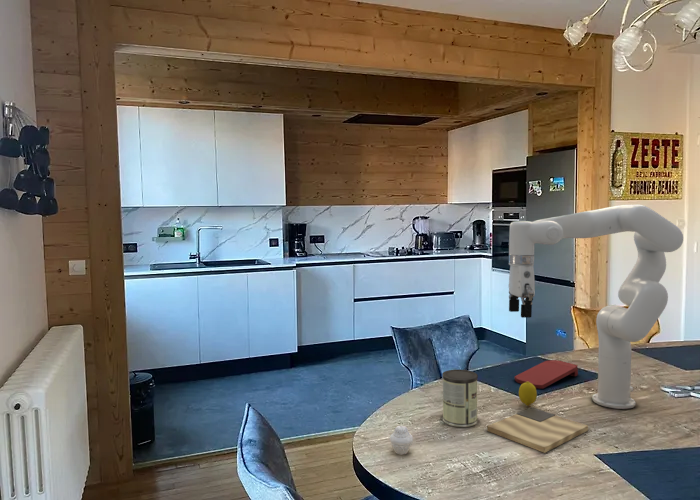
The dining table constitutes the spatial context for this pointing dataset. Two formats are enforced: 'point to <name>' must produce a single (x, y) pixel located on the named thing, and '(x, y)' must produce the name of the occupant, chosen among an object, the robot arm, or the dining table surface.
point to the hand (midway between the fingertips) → (519, 314)
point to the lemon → (527, 393)
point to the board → (537, 429)
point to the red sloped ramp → (547, 373)
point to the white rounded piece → (401, 440)
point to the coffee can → (460, 398)
